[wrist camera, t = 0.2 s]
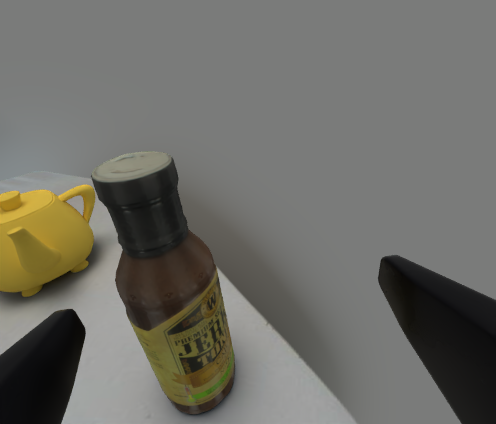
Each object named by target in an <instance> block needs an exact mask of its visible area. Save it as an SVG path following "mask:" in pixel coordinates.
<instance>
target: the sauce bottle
mask: <svg viewBox="0 0 496 424" xmlns="http://www.w3.org/2000/svg"><path fill="white" fill-rule="evenodd" d="M91 177H92V181H93V184H94V187H95V190H96V192H97V195H98V198H99V200H100V201H101V202H102V203H103V204H104V205H105V206H106V207H107V209H108V211H109V213H110V216H111V218H112V220H113V223H114V226H115V228H116V231H117V233H118V241H119V244H120V245H121V246H122V249H123V251H122V254H121V258H120V261H119V265H118V268H117V271H116V278H115V282H116V286H117V290H118V292H119V295H120V297H121V299H122V301H123V303H124V305H125V307H126V313H127V317H128V319H129V321H130V323H131V325H132V327H133V329H134V331H135V333H136V335H137V337H138V339H139V342H140V344H141V346H142V348H143V350H144V352H145V354H146V356H147V358H148V360H149V362H150V365H151V367H152V369H153V371H154V373H155V375H156V377H157V379H158V381H159V383H160V385H161V388H162V390H163V391H164V393H165V394H166V395H167V397H168V399H169V400H170V401H171V402H172V404H173V405H174V406H175V407H176V408H177V409H178V410H179V411H181V412H185V413H188V414H199V413H201V412H206V411H209V410H211V409H213V408H214V407H215V406H216V405H217V404H218V403H220V401H221V400H222V399H223V398H224V397H225V396H226V395H227V394H228V393H229V391H230V389H231V387H232V384H233V379H234V371H235V362H234V361H235V359H234V352H233V347H232V342H231V337H230V332H229V327H228V323H227V318H226V313H225V308H224V302H223V297H222V293H221V288H220V283H219V277H218V273H217V268H216V265H215V264H214V261H213V257H212V254H211V252H210V250H209V248H208V247H207V246H206V244H205V243H204V242H203V241H202V240H201V239H200V238H199V237H197V236H196V235H195V234H193V233H192V232H191V231H190V230H188V226H187V220H186V218H185V216H184V215H183V210H182V206H181V202H180V198H179V194H178V190H177V185H178V174H177V170H176V167H175V164H174V160H173V158H172V157H171V156H170V155H168V154H166V153H162V152H152V151H146V152H137V153H130V154H125V155H122V156H119V157H116V158H113V159H111V160H109V161H107V162H105V163H103V164H101V165H99V166H98V167H96V168H95V169H94V170H93V172H92V175H91Z"/></svg>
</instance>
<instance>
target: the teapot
mask: <svg viewBox="0 0 496 424" xmlns="http://www.w3.org/2000/svg"><path fill="white" fill-rule="evenodd" d="M78 195H81V196H82V197H83V200H84V212H83V216H82V215H81V214H80V213H79V212H78V211H77V210H76V209H75V208H74V207H72V206H71V205H70V204H68V203H67V202H65V201H67V200H69V199H70V198H72V197H75V196H78ZM94 203H95V192H94V189H93V188H92V186H90V185H81V186H77V187H75V188H73V189H71V190H69V191H67V192H65V193H63V194H61V195H60V196H57V195H55V194H54V193H52V192H50V191H48V190H35V191H30V192H26V193H23V194H20V193H19V191H10V192H6V193H3V194H0V291H4V292H20V291H22V296H23V297H28V296H32V295H34V294H36V293H37V292H38V291H40V290H41V288H42V287H43V284H44V283H47V282H49V281H51V280H53V279H55V278H57V277H59V276H61V275H63V274H65V273H66V272H68V271H71V272H79V271H81V270H83V269H85V268H86V267H87V266H88V264H89V262H88V261H87V260H85V259H86V258H87V257H88V256H89V254H90V252H91V250H92V246H93V242H94V236H93V232H92V229H91V228H90V226H89V224H88V223H89V220H90V217H91V214H92V211H93V208H94Z"/></svg>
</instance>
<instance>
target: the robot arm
mask: <svg viewBox="0 0 496 424" xmlns="http://www.w3.org/2000/svg"><path fill="white" fill-rule="evenodd" d="M378 281H379V285H380V287H381V289H382V291H383V293H384V295H385V297H386V299H387V301H388V302H389V305H390V307H391V309H392V311H393V313H394V315H395V317H396V318H397V321H398V323H399V325H400V327H401V328H402V330H403V332H404V334H405V335H406V337H407V339H408V340H409V342H410V344H411V345H412V347H413V348H414V350H415V351H416V353H417V355H418V356H419V358H420V359H421V361H422V362H423V364H424V365H425V367H426V369H427V370H428V372H429V373H430V375H431V376H432V378H433V380H434V381H435V383H436V384H437V386H438V387H439V389H440V391H441V392H442V394H443V395H444V397H445V398H446V400H447V402H448V403H449V404H450V406H451V408H452V409H453V411H454V413H455V414H456V416H457V417H458V419H459V420H460V422H461V423H462V424H496V300H494V299H492V298H490V297H488V296H486V295H484V294H481V293H479V292H477V291H475V290H472V289H470V288H468V287H466V286H464V285H462V284H459V283H457V282H455V281H453V280H451V279H449V278H446V277H444V276H442V275H440V274H438V273H435V272H433V271H431V270H429V269H426V268H424V267H422V266H420V265H418V264H416V263H414V262H411V261H409V260H407V259H405V258H402V257H400V256H398V255H391V256H385V257H383V258H382V259H381V263H380V269H379V276H378ZM85 334H86V332H85V327H84V325H83V324H82V322H81V320H80V319H79V317H78V315H77V314H76V312H75V311H74V310H73V309H65V310H59V311H56V312H54V313H53V314H52V315H50V316H49V317H48V318H47V319H45V320H44V321H43V322H42V323H40V324H39V325H38V326H37V327H35V328H34V329H33V330H32V331H30V332H29V333H28V334H27V335H25V336H24V337H23V338H21V339H20V340H19V341H18V342H16V343H15V344H14V345H13V346H11V347H10V348H9V349H8V350H6V351H5V352H4V353H3V354H1V355H0V424H61V422H62V420H63V417H64V414H65V411H66V408H67V405H68V402H69V399H70V396H71V393H72V389H73V385H74V382H75V377H76V373H77V369H78V365H79V361H80V356H81V352H82V348H83V344H84V340H85Z"/></svg>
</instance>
